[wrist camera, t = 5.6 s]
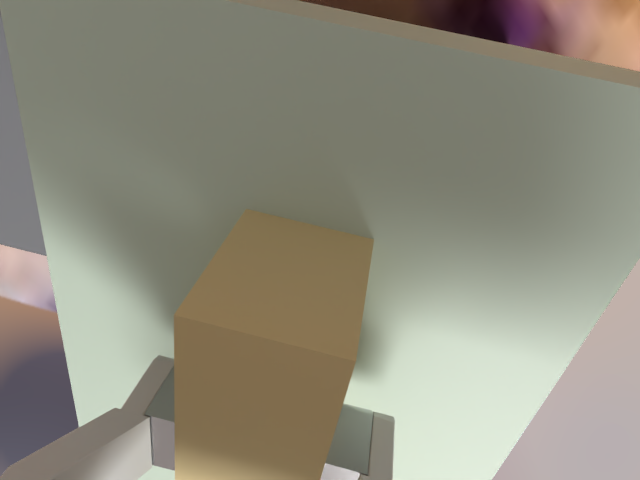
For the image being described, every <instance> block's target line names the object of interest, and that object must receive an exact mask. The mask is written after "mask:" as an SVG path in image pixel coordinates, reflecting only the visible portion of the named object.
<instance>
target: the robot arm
mask: <svg viewBox="0 0 640 480" xmlns="http://www.w3.org/2000/svg"><path fill="white" fill-rule="evenodd" d="M394 433H395V420H394V417H393V416H389V415H386V414H382V413H378V412H374V411H373V412H372V410H368V409H364V408H360V407H356V406H352V405H348V404H344V403H343V406H342V409H341V413H340V416H339V419H338V422H337V426H336V429H335V432H334V436H333V439H332V442H331V446H330V449H329V452H328V455H327V459H326V462H325V465H324V469H323V472H322V475H321V479H320V480H393V456H394ZM152 465H154V466H158V467H162V468H166V469H170V470H174V471H175V423H174V359H172V358H169V357H165V356H161V355H158V356H157V357H156V358H155V359H154V360H153V361H152V362H151V364H150V365H149V367H148V368H147V370H146V371H145V373H144V374H143V376H142V377H141V379H140V380H139V382H138V383H137V385H136V386H135V388H134V390H133V391H132V393H131V394H130V396H129V397H128V399H127V400H126V402H125V403H124V405H123V406H122V408H121V409H118V408H113V409H111V410H109V411H108V412H106V413H104V414H102V415H101V416H99V417H97V418H95V419H93V420H92V421H90V422H88V423H86V424H84V425H83V426H81V427H79V428H77V429H76V430H74V431H72V432H70V433H68V434H67V435H65V436H63V437H61V438H59V439H58V440H56V441H54V442H52V443H50V444H49V445H47V446H45V447H43V448H41V449H40V450H38V451H36V452H34V453H33V454H31V455H29V456H27V457H25V458H24V459H22V460H20V461H18V462H16V463H15V464H13V465H11V466H9V467H8V468H7V469H6V471H5V472H4V473H3V474H2V476H1V477H0V480H137V479H138V478H140V477H141V476H142V475H143V474H145V473H146V472H147V471H148V470H150V469H151V468H152Z"/></svg>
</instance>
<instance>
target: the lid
mask: <svg viewBox="0 0 640 480" xmlns="http://www.w3.org/2000/svg"><path fill="white" fill-rule="evenodd" d="M0 11H1V16H2V22H3V27H4V32H5V38H6V43H7V48H8V53H9V59H10V64H11V69H12V75H13V80H14V85H15V90H16V96H17V101H18V106H19V112H20V117H21V122H22V127H23V133H24V138H25V143H26V149H27V154H28V159H29V164H30V170H31V175H32V180H33V186H34V191H35V196H36V202H37V207H38V212H39V217H40V223H41V228H42V233H43V239H44V244H45V249H46V254H47V260H48V265H49V270H50V276H51V281H52V286H53V291H54V297H55V302H56V307H57V313H58V318H59V323H60V328H61V333H62V339H63V344H64V350H65V355H66V360H67V365H68V371H69V376H70V381H71V386H72V392H73V397H74V402H75V408H76V413H77V418H78V423H79V427H81V426H83V425H84V424H86V423H88V422H90V421H92V420H93V419H95V418H97V417H99V416H101V415H102V414H104V413H106V412H108V411H109V410H111V409H113V408H118V409H121V408H122V406H123V405H124V403H125V402H126V400H127V399H128V397H129V396H130V394H131V393H132V391H133V390H134V388H135V386H136V385H137V383H138V382H139V380H140V379H141V377H142V376H143V374H144V373H145V371H146V370H147V368H148V367H149V365H150V364H151V362H152V361H153V360H154V359H155V358H156V357H157V356H158V355H161V356H165V357H169V358H172V359H174V423H175V471H174V470H170V469H166V468H162V467H158V466H154V465H152V468H151V469H150V470H148V471H147V472H146V473H145V474H143V475H142V476H141V477H140V478H138V479H137V480H320V479H321V475H322V472H323V469H324V465H325V462H326V459H327V455H328V452H329V449H330V446H331V442H332V439H333V436H334V432H335V429H336V426H337V422H338V419H339V416H340V413H341V409H342V406H343V403H344V404H348V405H352V406H356V407H360V408H364V409H368V410H372V412H373V411H374V412H378V413H382V414H386V415H389V416H393V417H394V420H395V433H394V456H393V480H492V478H493V477H494V475H495V474H496V472H497V471H498V469H499V468H500V466H501V465H502V463H503V462H504V460H505V459H506V457H507V456H508V454H509V453H510V451H511V450H512V448H513V447H514V446H515V444H516V443H517V441H518V440H519V438H520V436H521V435H522V434H523V432H524V431H525V429H526V427H527V426H528V424H529V423H530V422H531V420H532V419H533V417H534V416H535V414H536V413H537V411H538V410H539V408H540V406H541V405H542V404H543V402H544V401H545V399H546V397H547V396H548V395H549V393H550V392H551V390H552V389H553V387H554V386H555V384H556V383H557V381H558V380H559V378H560V377H561V375H562V374H563V372H564V371H565V369H566V368H567V366H568V365H569V363H570V362H571V360H572V359H573V357H574V356H575V354H576V353H577V351H578V350H579V348H580V346H581V345H582V344H583V342H584V341H585V339H586V338H587V336H588V335H589V333H590V332H591V330H592V329H593V327H594V326H595V324H596V323H597V321H598V320H599V318H600V317H601V315H602V314H603V312H604V311H605V309H606V308H607V306H608V305H609V303H610V302H611V300H612V298H613V297H614V296H615V294H616V293H617V291H618V290H619V288H620V287H621V285H622V284H623V282H624V281H625V279H626V278H627V276H628V275H629V273H630V272H631V270H632V269H633V267H634V266H635V264H636V263H637V261H638V260H639V258H640V72H639V71H634V70H629V69H625V68H620V67H615V66H610V65H605V64H601V63H596V62H591V61H586V60H581V59H577V58H572V57H567V56H562V55H557V54H553V53H548V52H543V51H538V50H534V49H529V48H524V47H519V46H514V45H510V44H505V43H500V42H495V41H490V40H486V39H481V38H476V37H471V36H467V35H462V34H457V33H452V32H447V31H443V30H438V29H433V28H428V27H423V26H419V25H414V24H409V23H404V22H400V21H395V20H390V19H385V18H380V17H376V16H371V15H366V14H361V13H356V12H352V11H347V10H342V9H337V8H332V7H328V6H323V5H318V4H313V3H309V2H304V1H299V0H0Z"/></svg>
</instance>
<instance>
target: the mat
mask: <svg viewBox="0 0 640 480" xmlns="http://www.w3.org/2000/svg"><path fill="white" fill-rule="evenodd" d="M0 244H1V245H5V246H9V247H13V248H17V249H21V250H25V251H29V252H33V253H37V254H41V255H45V256H47V254H46V249H45V244H44V239H43V233H42V228H41V223H40V217H39V212H38V207H37V202H36V196H35V191H34V186H33V180H32V175H31V170H30V164H29V159H28V154H27V149H26V143H25V138H24V133H23V127H22V122H21V117H20V112H19V106H18V101H17V96H16V90H15V85H14V80H13V75H12V69H11V64H10V59H9V53H8V48H7V43H6V38H5V32H4V27H3V22H2V16H1V11H0Z"/></svg>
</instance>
